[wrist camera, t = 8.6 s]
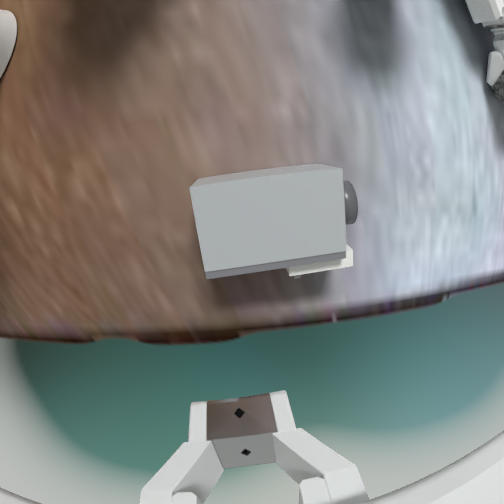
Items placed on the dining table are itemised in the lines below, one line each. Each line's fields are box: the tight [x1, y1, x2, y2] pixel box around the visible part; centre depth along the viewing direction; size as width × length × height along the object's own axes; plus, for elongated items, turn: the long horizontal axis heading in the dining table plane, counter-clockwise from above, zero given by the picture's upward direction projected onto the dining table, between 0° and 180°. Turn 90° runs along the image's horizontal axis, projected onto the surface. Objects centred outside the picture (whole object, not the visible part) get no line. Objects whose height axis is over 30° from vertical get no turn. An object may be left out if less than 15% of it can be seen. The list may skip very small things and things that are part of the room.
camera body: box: [190, 163, 358, 279], centre depth 27 cm, size 14×8×7 cm, turn 97°
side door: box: [286, 244, 353, 279], centre depth 29 cm, size 6×2×5 cm, turn 97°
